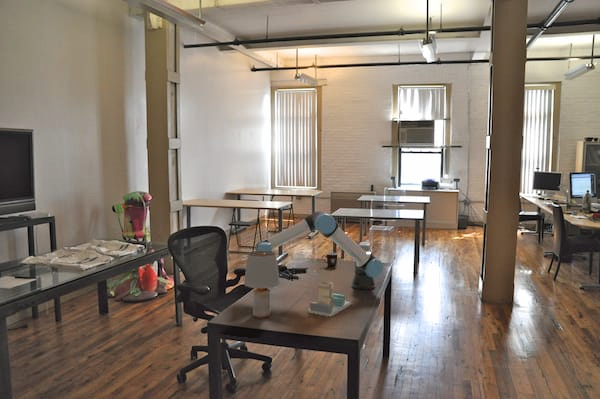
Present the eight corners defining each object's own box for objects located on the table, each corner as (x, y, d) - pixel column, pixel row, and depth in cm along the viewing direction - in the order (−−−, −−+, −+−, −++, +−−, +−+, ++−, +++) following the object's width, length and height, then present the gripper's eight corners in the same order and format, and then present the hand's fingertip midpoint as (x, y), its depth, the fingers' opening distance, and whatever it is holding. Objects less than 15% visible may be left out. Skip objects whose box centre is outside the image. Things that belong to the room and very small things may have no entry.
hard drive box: (368, 272, 354) (369, 245, 352) (358, 272, 355) (358, 245, 353) (369, 267, 369) (370, 241, 367) (359, 267, 370) (360, 241, 368)
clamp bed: (329, 300, 287) (329, 291, 286) (351, 304, 280) (351, 295, 279) (308, 312, 266) (308, 302, 265) (330, 317, 258) (330, 306, 258)
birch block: (323, 305, 272) (323, 281, 271) (333, 307, 269) (333, 282, 268) (318, 308, 267) (318, 283, 266) (328, 310, 264) (328, 285, 263)
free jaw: (329, 299, 284) (329, 292, 284) (348, 302, 278) (348, 295, 278) (322, 303, 277) (322, 296, 277) (341, 306, 271) (341, 299, 271)
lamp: (266, 324, 246) (265, 259, 243) (237, 318, 256) (236, 254, 253) (286, 314, 262) (286, 252, 259) (258, 308, 272) (258, 248, 269)
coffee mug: (338, 265, 375) (339, 253, 374) (336, 268, 367) (336, 255, 366) (324, 264, 379) (324, 252, 378) (321, 267, 371) (321, 254, 370)
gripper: (290, 272, 294) (321, 277, 283) (266, 282, 273) (298, 287, 261) (290, 260, 293) (321, 264, 282) (266, 269, 272) (298, 274, 261)
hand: (310, 275), depth 272 cm, fingers open, 13 cm apart
